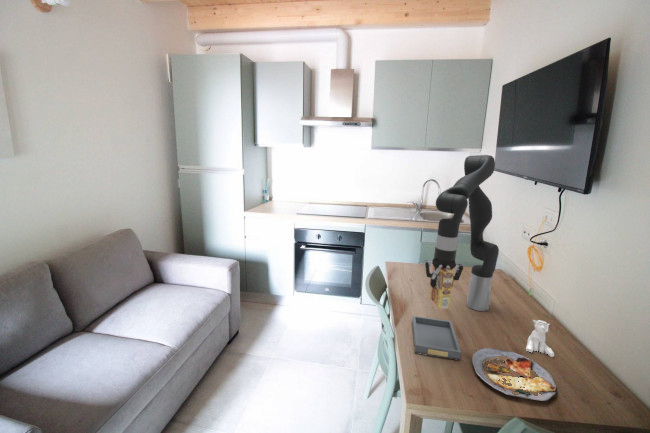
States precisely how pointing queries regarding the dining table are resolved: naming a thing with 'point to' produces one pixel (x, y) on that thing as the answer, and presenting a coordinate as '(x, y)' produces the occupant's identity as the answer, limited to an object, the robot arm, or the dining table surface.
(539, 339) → the sitting furry creature
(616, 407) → the dining table surface
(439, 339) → the labelled tray
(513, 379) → the food plate
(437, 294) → the candy box
